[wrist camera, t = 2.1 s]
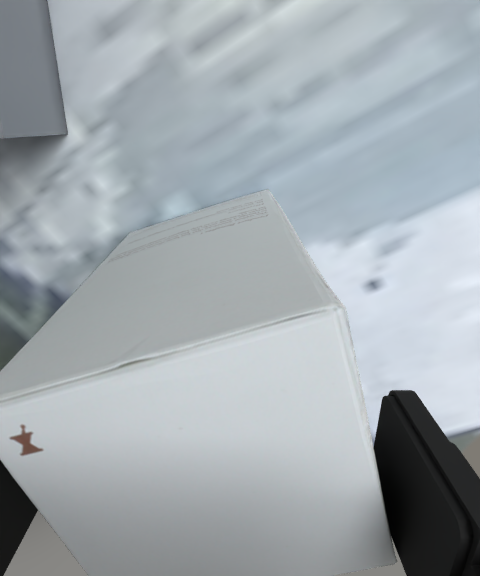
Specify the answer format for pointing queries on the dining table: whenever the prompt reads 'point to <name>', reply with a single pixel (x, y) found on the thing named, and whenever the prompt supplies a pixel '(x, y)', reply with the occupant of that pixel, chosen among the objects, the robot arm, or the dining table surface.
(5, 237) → the dining table surface
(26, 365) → the supplement box
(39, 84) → the bin
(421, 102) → the dining table surface
